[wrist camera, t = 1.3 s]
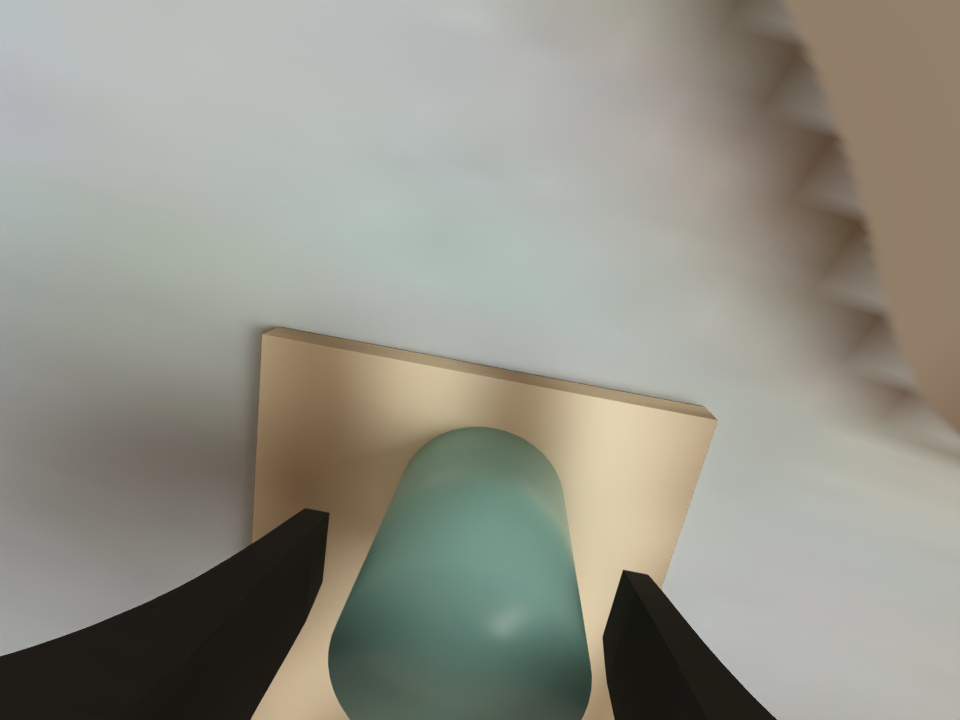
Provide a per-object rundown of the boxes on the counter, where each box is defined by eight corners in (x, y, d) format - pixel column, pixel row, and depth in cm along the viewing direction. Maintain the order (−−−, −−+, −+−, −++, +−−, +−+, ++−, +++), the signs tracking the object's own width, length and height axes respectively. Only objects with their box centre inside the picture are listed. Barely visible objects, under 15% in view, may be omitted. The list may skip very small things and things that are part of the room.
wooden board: (705, 407, 15) (717, 420, 14) (530, 945, 22) (530, 977, 21) (278, 326, 15) (262, 334, 14) (245, 883, 23) (232, 913, 22)
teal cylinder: (581, 444, 14) (621, 595, 9) (544, 586, 16) (559, 796, 10) (410, 412, 15) (339, 540, 9) (389, 555, 16) (317, 746, 10)
